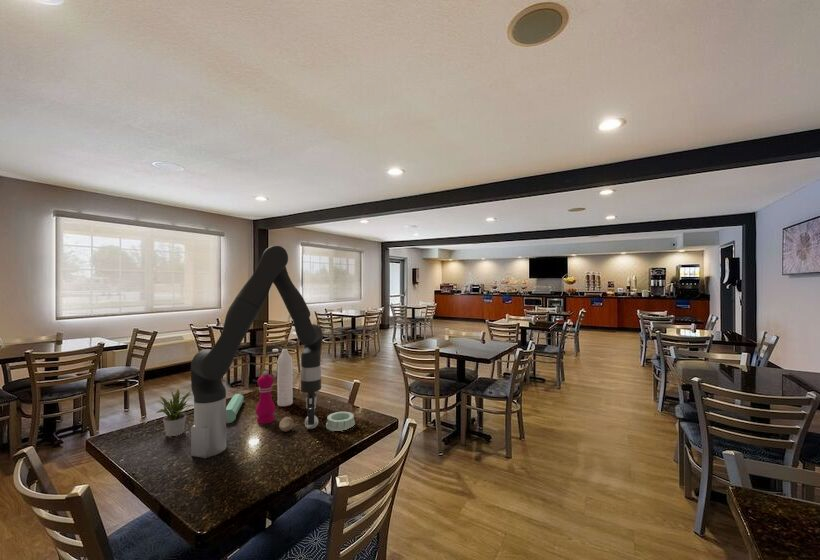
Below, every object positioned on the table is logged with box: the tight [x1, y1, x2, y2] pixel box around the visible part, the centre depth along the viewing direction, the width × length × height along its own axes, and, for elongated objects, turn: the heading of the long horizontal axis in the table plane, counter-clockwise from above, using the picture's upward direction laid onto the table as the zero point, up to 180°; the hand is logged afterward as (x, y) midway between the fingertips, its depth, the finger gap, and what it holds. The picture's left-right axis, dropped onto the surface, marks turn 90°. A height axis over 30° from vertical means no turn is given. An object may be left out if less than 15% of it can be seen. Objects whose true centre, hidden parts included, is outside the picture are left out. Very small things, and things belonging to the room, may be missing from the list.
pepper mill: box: [255, 370, 276, 425], centre depth 141 cm, size 7×7×20 cm
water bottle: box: [272, 348, 294, 407], centre depth 160 cm, size 9×6×25 cm
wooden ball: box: [278, 416, 294, 432], centre depth 131 cm, size 5×5×5 cm
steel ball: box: [304, 414, 319, 430], centre depth 133 cm, size 5×5×5 cm
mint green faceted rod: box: [226, 393, 244, 424], centre depth 151 cm, size 6×6×25 cm
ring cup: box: [325, 411, 356, 432], centre depth 136 cm, size 11×11×4 cm
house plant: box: [155, 388, 194, 437], centre depth 129 cm, size 14×14×16 cm
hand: (311, 419), depth 134 cm, fingers open, 8 cm apart
